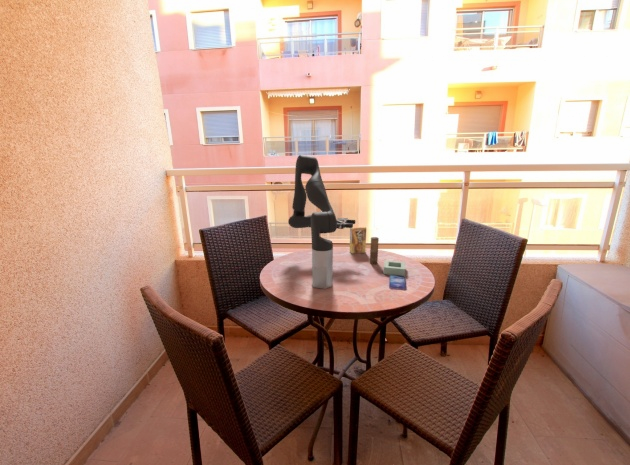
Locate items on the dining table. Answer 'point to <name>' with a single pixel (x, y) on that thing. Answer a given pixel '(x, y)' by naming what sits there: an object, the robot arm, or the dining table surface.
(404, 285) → the smartphone
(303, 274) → the dining table surface
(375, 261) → the dowel
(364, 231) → the candy box
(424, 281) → the dining table surface
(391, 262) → the square frame
